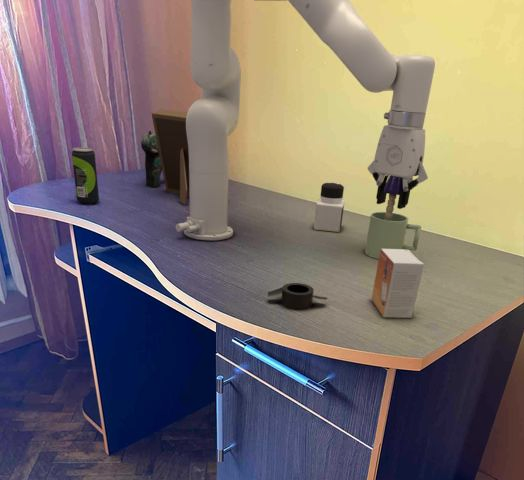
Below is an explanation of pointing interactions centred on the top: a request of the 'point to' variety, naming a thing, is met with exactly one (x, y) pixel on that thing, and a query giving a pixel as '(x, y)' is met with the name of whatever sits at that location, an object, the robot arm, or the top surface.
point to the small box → (396, 283)
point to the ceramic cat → (151, 159)
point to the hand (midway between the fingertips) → (391, 204)
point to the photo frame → (173, 150)
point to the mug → (389, 234)
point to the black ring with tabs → (295, 295)
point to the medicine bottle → (329, 208)
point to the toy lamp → (392, 193)
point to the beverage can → (85, 175)
